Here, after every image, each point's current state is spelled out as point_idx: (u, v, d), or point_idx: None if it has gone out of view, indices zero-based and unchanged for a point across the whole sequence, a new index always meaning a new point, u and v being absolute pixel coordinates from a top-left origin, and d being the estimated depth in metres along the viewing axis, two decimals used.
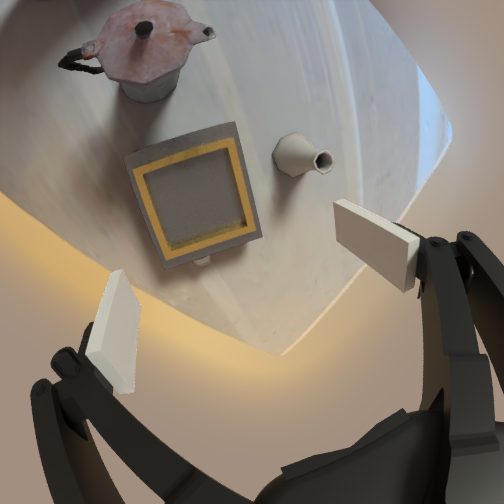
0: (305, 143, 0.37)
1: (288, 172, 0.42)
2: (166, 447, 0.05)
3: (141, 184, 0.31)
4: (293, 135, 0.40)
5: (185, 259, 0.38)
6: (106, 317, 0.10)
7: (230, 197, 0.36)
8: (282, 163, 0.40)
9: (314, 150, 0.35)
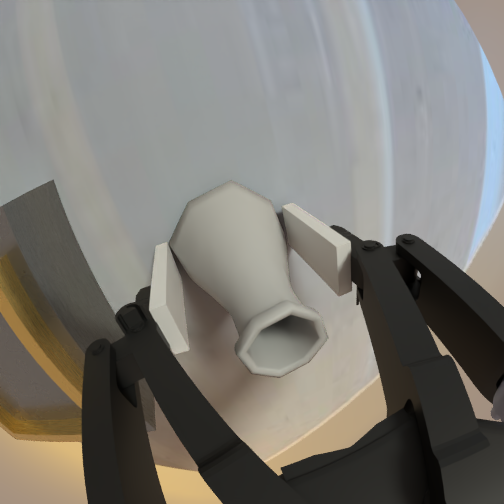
0: (242, 232, 0.13)
1: None
2: (216, 414, 0.06)
3: None
4: (220, 193, 0.15)
5: None
6: (164, 279, 0.12)
7: None
8: (190, 274, 0.16)
9: (259, 279, 0.10)
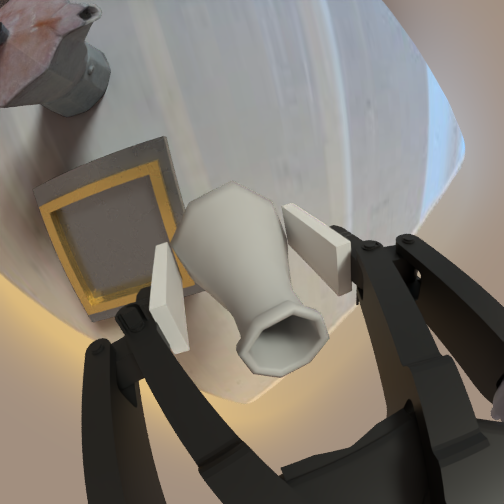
0: (243, 232, 0.13)
1: None
2: (216, 414, 0.06)
3: (49, 225, 0.21)
4: (221, 193, 0.15)
5: (113, 313, 0.28)
6: (164, 279, 0.12)
7: (160, 240, 0.26)
8: (191, 274, 0.16)
9: (260, 279, 0.10)
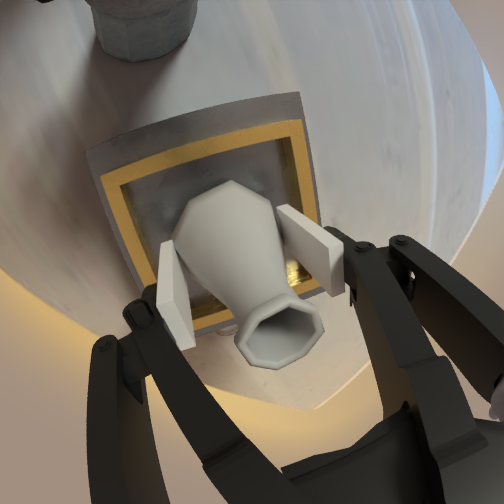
0: (241, 229, 0.13)
1: None
2: (222, 411, 0.06)
3: (117, 206, 0.15)
4: (220, 192, 0.15)
5: (203, 330, 0.22)
6: (170, 275, 0.12)
7: None
8: (190, 270, 0.16)
9: (258, 274, 0.11)
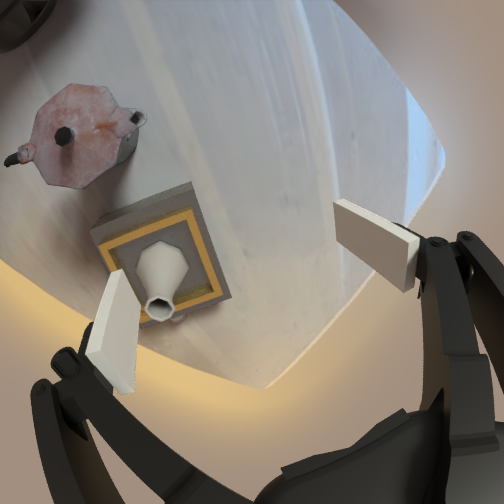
0: (156, 267, 0.30)
1: None
2: (166, 447, 0.05)
3: (108, 259, 0.31)
4: (154, 248, 0.33)
5: None
6: (106, 317, 0.10)
7: (195, 264, 0.37)
8: None
9: (156, 286, 0.28)
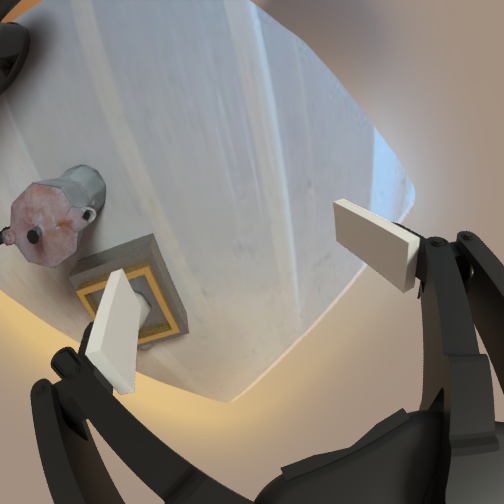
0: None
1: None
2: (166, 447, 0.05)
3: (84, 301, 0.36)
4: None
5: None
6: (106, 317, 0.10)
7: (156, 307, 0.41)
8: None
9: None
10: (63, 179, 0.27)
